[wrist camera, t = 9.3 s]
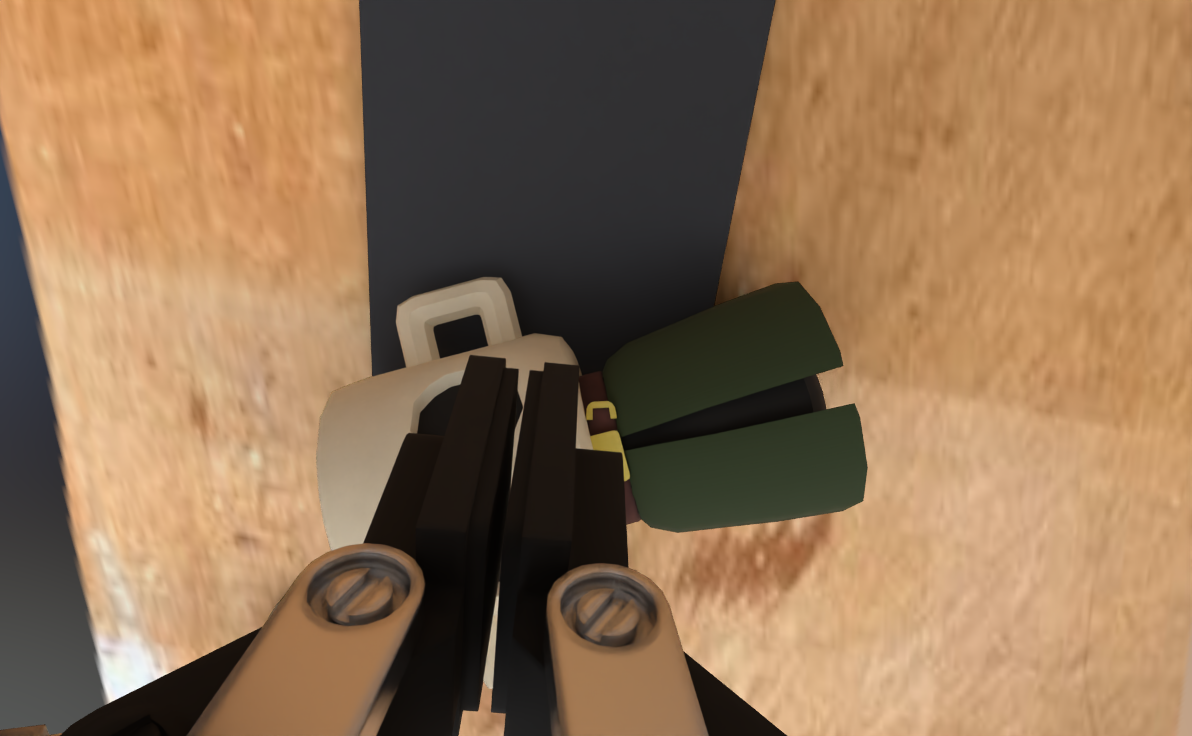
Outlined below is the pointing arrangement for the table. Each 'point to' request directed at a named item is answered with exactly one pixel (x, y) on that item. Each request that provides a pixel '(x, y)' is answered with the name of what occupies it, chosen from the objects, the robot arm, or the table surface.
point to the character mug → (626, 413)
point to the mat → (554, 160)
